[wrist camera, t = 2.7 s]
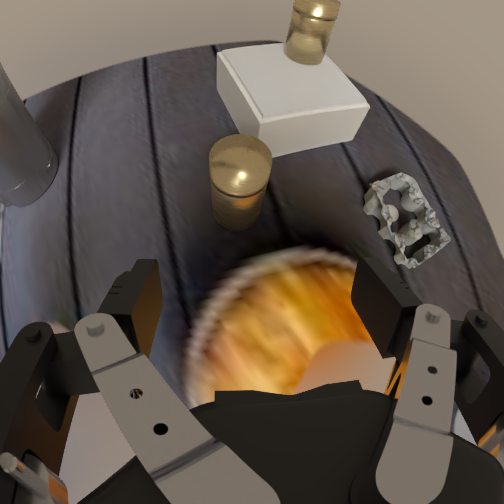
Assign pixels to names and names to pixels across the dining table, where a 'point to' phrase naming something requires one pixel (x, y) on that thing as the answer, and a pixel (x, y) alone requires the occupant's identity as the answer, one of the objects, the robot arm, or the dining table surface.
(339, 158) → the dining table surface
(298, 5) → the cylinder
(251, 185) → the disc
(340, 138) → the scale
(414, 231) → the grey piece
